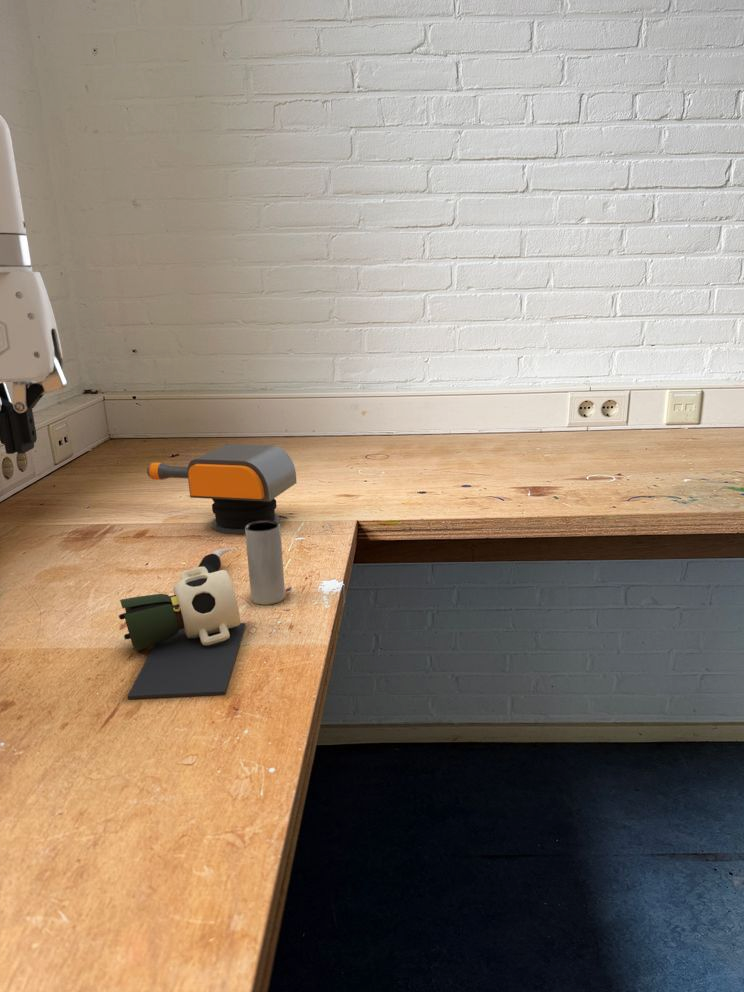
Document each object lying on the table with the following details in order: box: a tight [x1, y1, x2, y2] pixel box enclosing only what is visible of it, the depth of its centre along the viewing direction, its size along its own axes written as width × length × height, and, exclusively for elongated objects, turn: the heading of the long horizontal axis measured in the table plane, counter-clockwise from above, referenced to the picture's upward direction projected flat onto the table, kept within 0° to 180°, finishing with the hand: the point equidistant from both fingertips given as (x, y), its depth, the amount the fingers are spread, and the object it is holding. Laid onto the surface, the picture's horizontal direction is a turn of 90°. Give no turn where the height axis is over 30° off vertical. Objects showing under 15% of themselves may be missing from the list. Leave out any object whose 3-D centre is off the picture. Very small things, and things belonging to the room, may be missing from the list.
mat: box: [126, 622, 247, 700], centre depth 91 cm, size 10×17×1 cm, turn 4°
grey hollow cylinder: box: [244, 521, 286, 606], centre depth 106 cm, size 4×4×10 cm
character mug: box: [118, 566, 241, 652], centre depth 94 cm, size 11×7×13 cm
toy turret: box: [146, 443, 297, 535], centre depth 139 cm, size 15×25×13 cm, turn 76°
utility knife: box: [197, 548, 235, 573], centre depth 112 cm, size 22×4×3 cm, turn 2°
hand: (20, 450), depth 80 cm, fingers closed
